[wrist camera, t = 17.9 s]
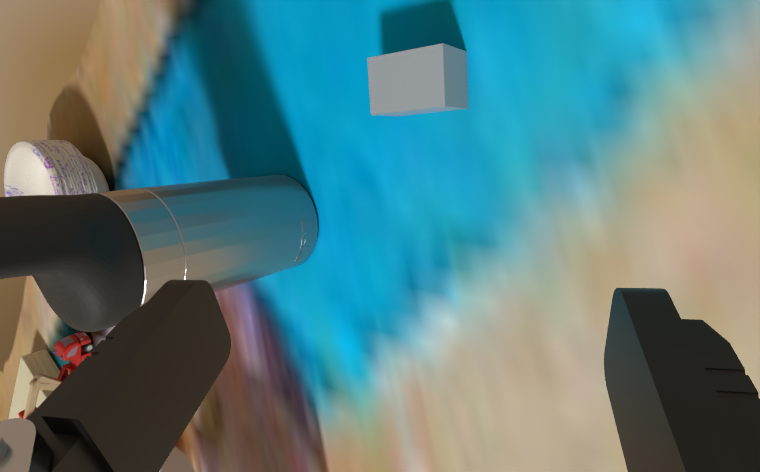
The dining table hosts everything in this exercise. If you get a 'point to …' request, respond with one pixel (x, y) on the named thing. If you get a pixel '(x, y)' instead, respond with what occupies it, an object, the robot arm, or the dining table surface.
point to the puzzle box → (26, 372)
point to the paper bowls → (50, 170)
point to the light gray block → (418, 81)
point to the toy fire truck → (66, 349)
